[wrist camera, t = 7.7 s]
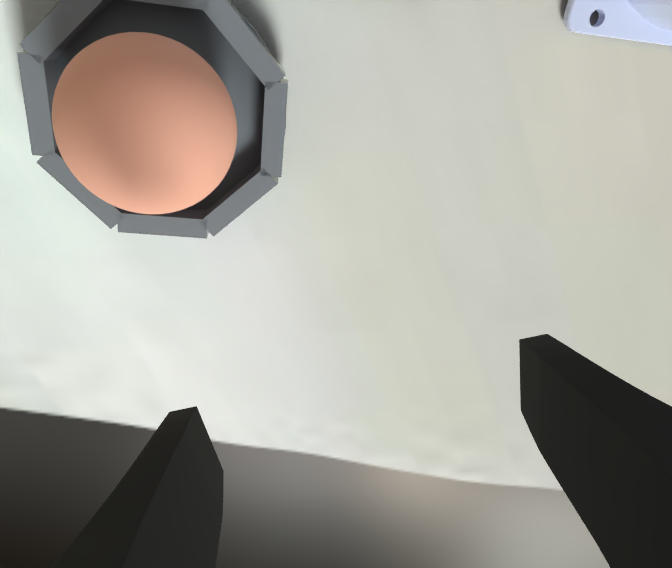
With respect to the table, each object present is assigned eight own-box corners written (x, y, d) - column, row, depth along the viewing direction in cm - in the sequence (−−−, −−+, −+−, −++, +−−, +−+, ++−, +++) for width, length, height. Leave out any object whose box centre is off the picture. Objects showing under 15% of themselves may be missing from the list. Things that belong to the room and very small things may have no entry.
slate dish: (295, -6, 17) (296, -7, 15) (277, 226, 20) (277, 244, 19) (28, -43, 16) (0, -48, 14) (60, 209, 19) (41, 227, 18)
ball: (239, 35, 17) (237, 50, 12) (237, 187, 19) (234, 244, 15) (70, 18, 16) (3, 27, 11) (89, 180, 18) (40, 238, 14)
